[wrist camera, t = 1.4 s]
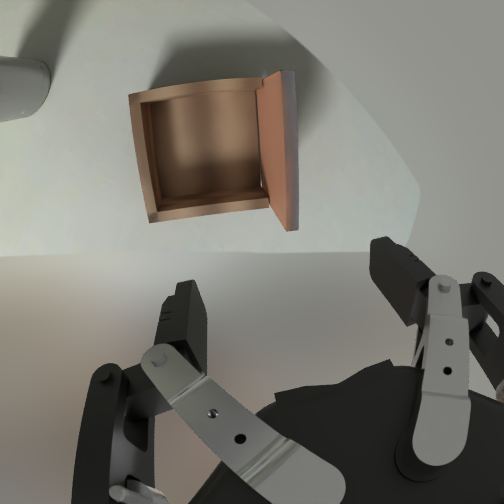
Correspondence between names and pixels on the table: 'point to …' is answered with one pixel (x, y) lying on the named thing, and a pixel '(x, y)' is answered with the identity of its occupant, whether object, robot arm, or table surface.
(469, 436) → the robot arm
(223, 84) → the box
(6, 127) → the table surface
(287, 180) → the panel
